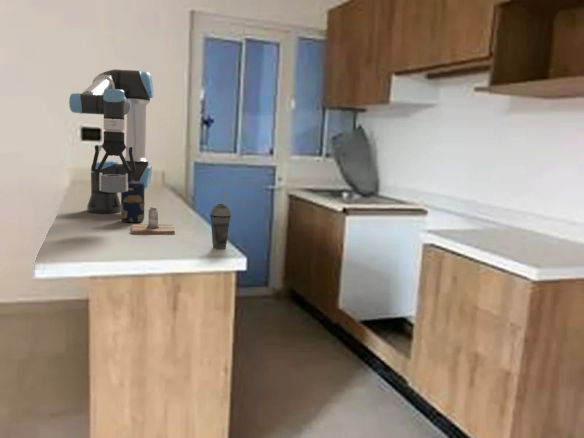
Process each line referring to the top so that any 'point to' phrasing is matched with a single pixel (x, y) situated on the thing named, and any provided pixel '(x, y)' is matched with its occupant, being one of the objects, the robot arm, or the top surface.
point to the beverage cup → (220, 225)
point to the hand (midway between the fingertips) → (113, 190)
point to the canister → (133, 202)
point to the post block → (152, 225)
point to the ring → (113, 183)
